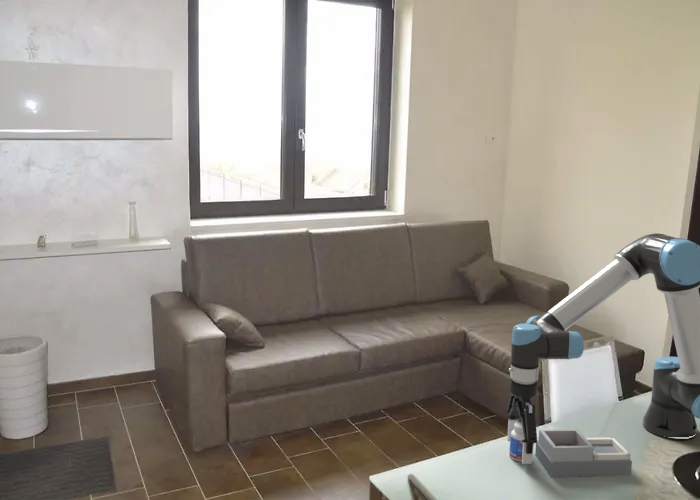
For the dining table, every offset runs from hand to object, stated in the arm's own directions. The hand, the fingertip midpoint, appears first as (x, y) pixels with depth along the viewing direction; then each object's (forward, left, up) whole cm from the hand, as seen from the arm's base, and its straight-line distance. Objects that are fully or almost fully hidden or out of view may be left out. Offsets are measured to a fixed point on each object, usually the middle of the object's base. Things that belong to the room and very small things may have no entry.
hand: (519, 451), depth 180 cm
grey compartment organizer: (-16, +5, -2) cm, 17 cm away
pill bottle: (0, 0, -2) cm, 2 cm away
